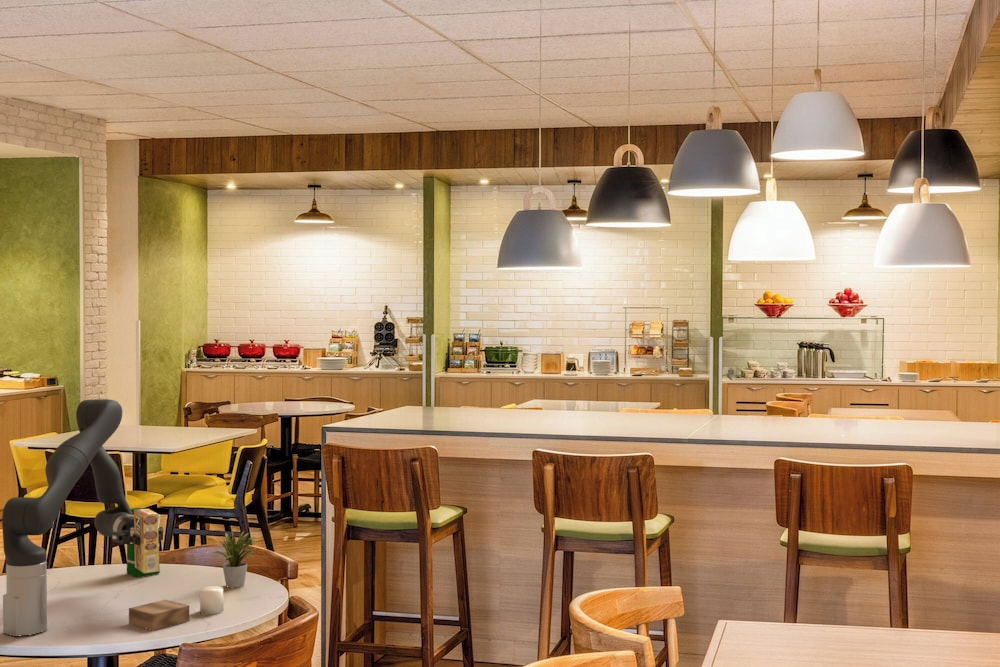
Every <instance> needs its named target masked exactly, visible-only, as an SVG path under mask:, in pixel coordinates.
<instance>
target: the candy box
mask: <svg viewBox="0 0 1000 667" xmlns="http://www.w3.org/2000/svg"><path fill="white" fill-rule="evenodd" d="M158 515H159V513H157V512H155V511H154V510H152V509H150V508H143V509H141V510H134V533H135V535H138V536H139V537H140V545H136V544H134V545H135V567H136V568H137V569H139V570H140V571H141V572H143V573H150V572H158V571H159V569H160V549H159V550H158Z"/></svg>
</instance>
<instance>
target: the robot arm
mask: <svg viewBox="0 0 1000 667" xmlns="http://www.w3.org/2000/svg"><path fill="white" fill-rule="evenodd" d="M75 416H76V417H75V418H76V425H77V427H78V428H77V429H78V432H79V433H77V434H75V435H73V436H70V437H69V438H68V439H66V440H65V441H63V442H62V443H61V444H60V445H58V446H57V448H56V449H55V450H54V451H53V453H52V454H51V456H50V457H49V458H48V460H47V462H46V463H45V467H44V469H45V470H44V471H45V477H46V481H47V485H48V486H47V488H46V489H45V491H44V492H43V494H42V495H40V496H39V497H27V496H26V497H23V496H21V497H20V496H17V497H11V498H10V499H8V500H7V501H6V503H5V504H4V507H3V510H2V516H1V527H2V540H3V541H2V542H3V545H2V546H3V553H4V556H5V560H6V561H5V562H6V564H5V566H6V567H5V570H6V571H5V572H6V573H5V577H6V578H5V579H6V581H5V582H6V584H5V587H6V590H5V591H6V594H5V593H4V594H3V595H2V633H3V632H4V633H7V634H6V635H8V634H11V635H14V636H19V635H29V634H34V633H39V632H42V633H44V632H43V631H45V630H46V629H48V606H47V605H48V603H47V602H48V595H47V593H48V591H47V590H48V589H47V588H48V584H47V583H48V582H47V580H48V579H47V578H48V576H47V573H48V570H47V566H48V565H47V564H48V562H47V558H48V556H47V550H46V549H45V548H43V547H42V546H39V545H37V544H36V543H35V542H33V541H32V540H31V539H30V538H29V536H41V535H44V534H45V533H47V532H48V531H49V530H50V529H51V527H52V526H53V524H54V523H55V520H56V518H57V516H58V515H59V514H60V511H61V509H62V507H63V505H64V503H65V501H66V500H67V498H68V496H69V494H70V493H71V491H72V490H73V489H74V487H75V485H77V484H76V483H77V482H78V481H79V480H80V478H81V477H82V476H83V475H84V473H85V471H86V470H87V469H88V467H89V465H90V466H91V469H92V474H93V480H94V485H95V492H96V497H97V500H98V502H100V503H101V504H108V505H109V504H116V505H117V506H115V507H112V508H108V509H103V510H101V511H99V512H98V513H96V515H95V518H94V527H95V529H96V530H97V532H98V534H100V535H101V536H104V537H108V538H110V537H111V538H112V541H111V542H113V543H117V544H121V545H126V546H127V545H129V546H135V545H134V544H136V545H140V537H139V536H138V535H135V533H134V515H133V513H132V511H131V509H132V508H131V507H130V504H128V501H127V499H126V496H125V494H124V489H123V483H122V476H121V472H120V470H119V467H118V465H117V463H116V462H115V461H114V460H113V458H112V457H111V455H110V454H109V453H108V452H107V451H106V449H105V448H104V445H105V443H106V442H107V441H108V440H109V439H110V438H111V437H112V435H113V434H114V433H116V431H118V430H117V429H118V428H119V427H120V425H121V422H122V419H123V407H122V405H121V404H120V403H119V402H118V401H116V400H115V399H114V400H113V399H103V398H102V399H101V398H99V399H85V400H82V401H80V403H79V404H78V406H77V407H76V412H75ZM163 540H164V527H163V526H159V528H158V543H159V544H160V542H161V541H163ZM46 631H47V630H46ZM46 631H45V632H46ZM4 633H3V634H4ZM39 634H40V633H39ZM11 635H10V636H11ZM14 636H13V637H14ZM29 636H30V635H29Z"/></svg>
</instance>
